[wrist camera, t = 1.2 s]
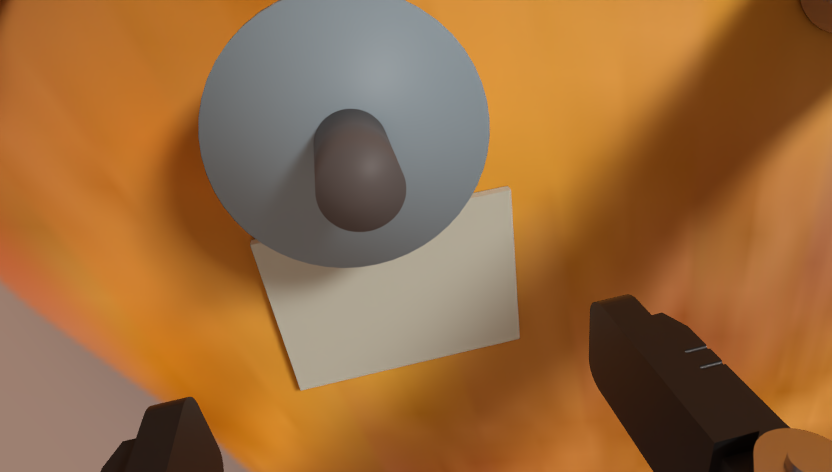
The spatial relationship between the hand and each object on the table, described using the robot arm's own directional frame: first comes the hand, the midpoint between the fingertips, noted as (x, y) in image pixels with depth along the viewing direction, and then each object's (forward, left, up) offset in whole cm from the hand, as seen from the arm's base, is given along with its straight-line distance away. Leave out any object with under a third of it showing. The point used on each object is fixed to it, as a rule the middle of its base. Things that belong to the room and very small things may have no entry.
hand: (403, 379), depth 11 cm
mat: (-1, +13, -21) cm, 25 cm away
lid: (0, 0, -15) cm, 15 cm away
